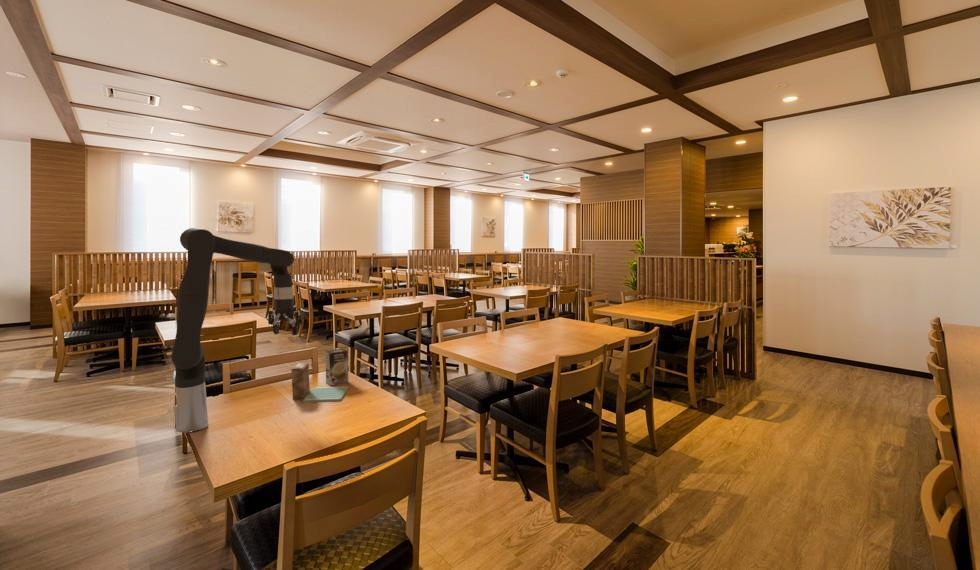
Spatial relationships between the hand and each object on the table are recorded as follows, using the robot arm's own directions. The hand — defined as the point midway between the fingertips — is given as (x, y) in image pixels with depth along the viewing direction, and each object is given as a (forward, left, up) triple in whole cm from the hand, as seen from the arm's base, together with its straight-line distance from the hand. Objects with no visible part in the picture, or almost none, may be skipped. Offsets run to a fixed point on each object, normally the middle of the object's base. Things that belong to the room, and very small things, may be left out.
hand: (285, 334), depth 187 cm
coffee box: (+15, +24, -30) cm, 41 cm away
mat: (+14, +7, -30) cm, 34 cm away
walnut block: (+3, +7, -30) cm, 31 cm away
